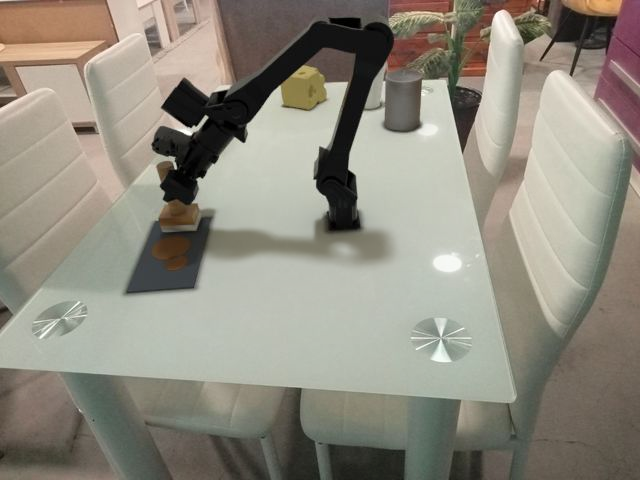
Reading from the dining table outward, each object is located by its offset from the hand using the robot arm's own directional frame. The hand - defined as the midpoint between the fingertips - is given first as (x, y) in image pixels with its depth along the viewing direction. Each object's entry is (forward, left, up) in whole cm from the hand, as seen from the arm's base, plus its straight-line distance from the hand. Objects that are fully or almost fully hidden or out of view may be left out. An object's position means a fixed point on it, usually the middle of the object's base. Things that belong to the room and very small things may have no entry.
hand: (167, 195), depth 95 cm
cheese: (+65, -28, -8) cm, 71 cm away
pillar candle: (+43, -55, -8) cm, 70 cm away
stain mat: (-8, -1, -8) cm, 11 cm away
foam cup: (+59, -48, -8) cm, 76 cm away
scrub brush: (0, -1, -7) cm, 7 cm away
